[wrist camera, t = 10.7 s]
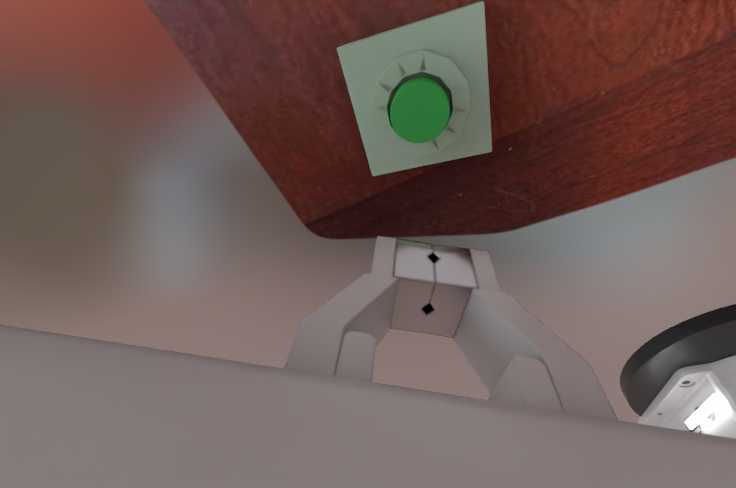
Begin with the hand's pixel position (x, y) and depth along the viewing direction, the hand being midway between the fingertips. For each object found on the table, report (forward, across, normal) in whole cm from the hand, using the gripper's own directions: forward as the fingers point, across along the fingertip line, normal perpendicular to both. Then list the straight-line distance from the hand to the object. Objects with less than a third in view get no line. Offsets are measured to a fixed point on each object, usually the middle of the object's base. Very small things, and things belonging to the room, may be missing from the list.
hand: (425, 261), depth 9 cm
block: (+21, 0, 0) cm, 21 cm away
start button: (+17, 0, 0) cm, 17 cm away
